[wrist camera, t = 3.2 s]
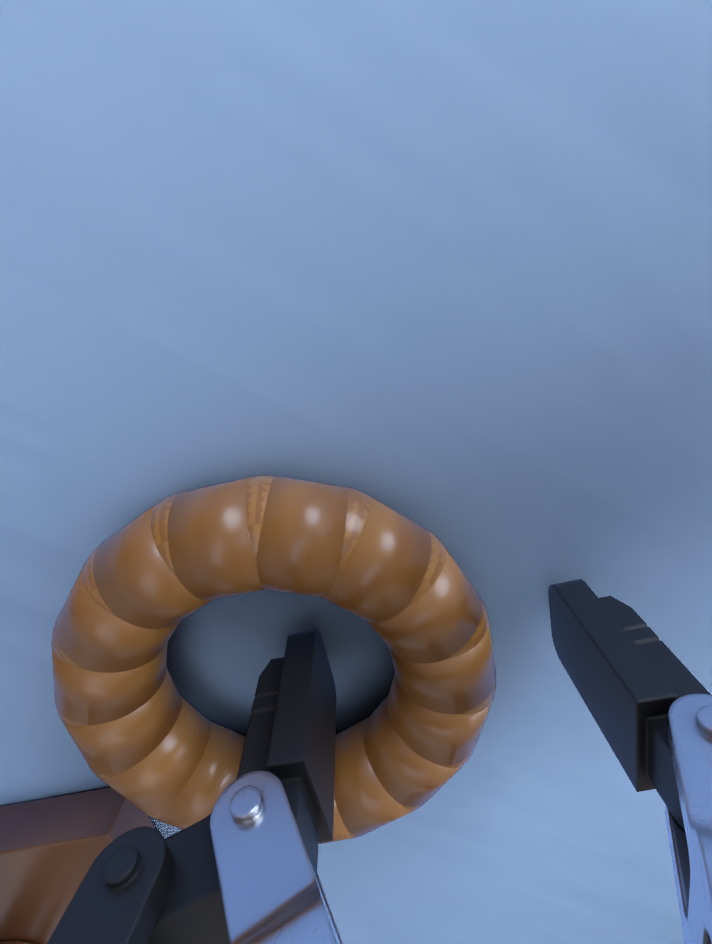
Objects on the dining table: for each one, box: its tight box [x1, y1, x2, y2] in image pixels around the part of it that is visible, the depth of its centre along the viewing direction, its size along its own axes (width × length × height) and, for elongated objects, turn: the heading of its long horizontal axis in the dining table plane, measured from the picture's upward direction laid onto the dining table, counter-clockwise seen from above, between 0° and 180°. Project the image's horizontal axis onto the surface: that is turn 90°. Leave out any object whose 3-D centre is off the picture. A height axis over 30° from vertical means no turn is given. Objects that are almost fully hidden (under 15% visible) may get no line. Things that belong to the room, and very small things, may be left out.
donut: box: [52, 475, 496, 844], centre depth 12 cm, size 10×10×2 cm
